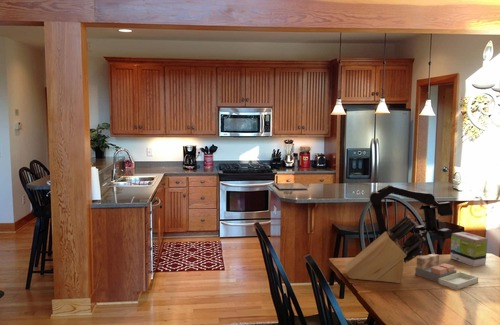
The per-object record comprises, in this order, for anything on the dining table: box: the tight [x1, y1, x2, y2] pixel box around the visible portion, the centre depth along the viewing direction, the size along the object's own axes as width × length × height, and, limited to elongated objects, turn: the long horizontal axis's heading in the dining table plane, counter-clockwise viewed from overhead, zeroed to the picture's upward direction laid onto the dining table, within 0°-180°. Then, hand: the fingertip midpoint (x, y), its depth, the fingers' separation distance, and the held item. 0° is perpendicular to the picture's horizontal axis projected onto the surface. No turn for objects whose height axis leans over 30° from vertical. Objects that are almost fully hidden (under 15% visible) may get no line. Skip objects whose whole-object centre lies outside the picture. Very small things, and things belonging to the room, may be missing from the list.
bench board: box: [414, 264, 457, 283], centre depth 205 cm, size 14×13×4 cm
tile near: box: [431, 266, 446, 274], centre depth 200 cm, size 5×5×2 cm
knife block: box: [344, 214, 426, 284], centre depth 199 cm, size 11×35×31 cm, turn 78°
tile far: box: [439, 263, 456, 272], centre depth 204 cm, size 5×5×2 cm
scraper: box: [415, 253, 440, 269], centre depth 209 cm, size 14×3×5 cm, turn 123°
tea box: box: [449, 231, 488, 268], centre depth 228 cm, size 15×10×15 cm, turn 25°
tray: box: [437, 271, 479, 291], centre depth 196 cm, size 18×9×2 cm, turn 123°
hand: (433, 247), depth 211 cm, fingers open, 9 cm apart
